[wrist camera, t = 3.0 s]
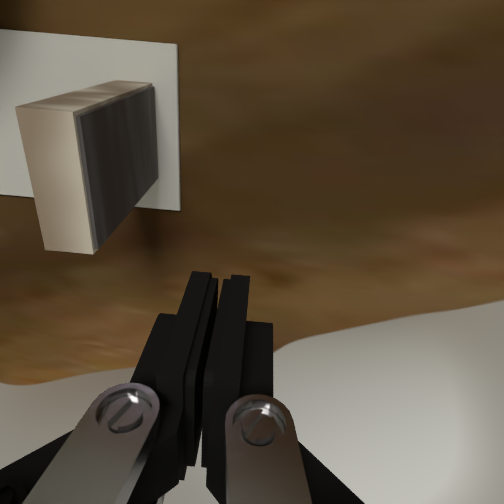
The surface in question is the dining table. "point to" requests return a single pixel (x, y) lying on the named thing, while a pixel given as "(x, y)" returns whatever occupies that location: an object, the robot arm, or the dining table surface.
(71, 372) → the dining table surface
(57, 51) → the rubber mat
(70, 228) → the ash tile
